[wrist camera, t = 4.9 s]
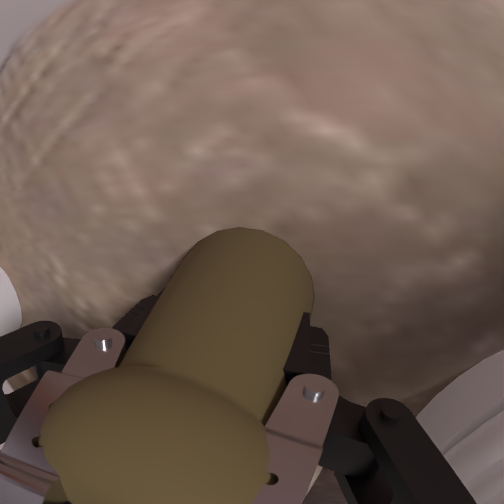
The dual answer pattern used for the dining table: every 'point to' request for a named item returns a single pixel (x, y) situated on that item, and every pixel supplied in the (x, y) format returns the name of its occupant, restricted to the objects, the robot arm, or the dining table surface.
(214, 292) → the brown rounded tapered piece
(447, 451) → the honey pot
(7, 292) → the white cup
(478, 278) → the dining table surface
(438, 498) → the robot arm
